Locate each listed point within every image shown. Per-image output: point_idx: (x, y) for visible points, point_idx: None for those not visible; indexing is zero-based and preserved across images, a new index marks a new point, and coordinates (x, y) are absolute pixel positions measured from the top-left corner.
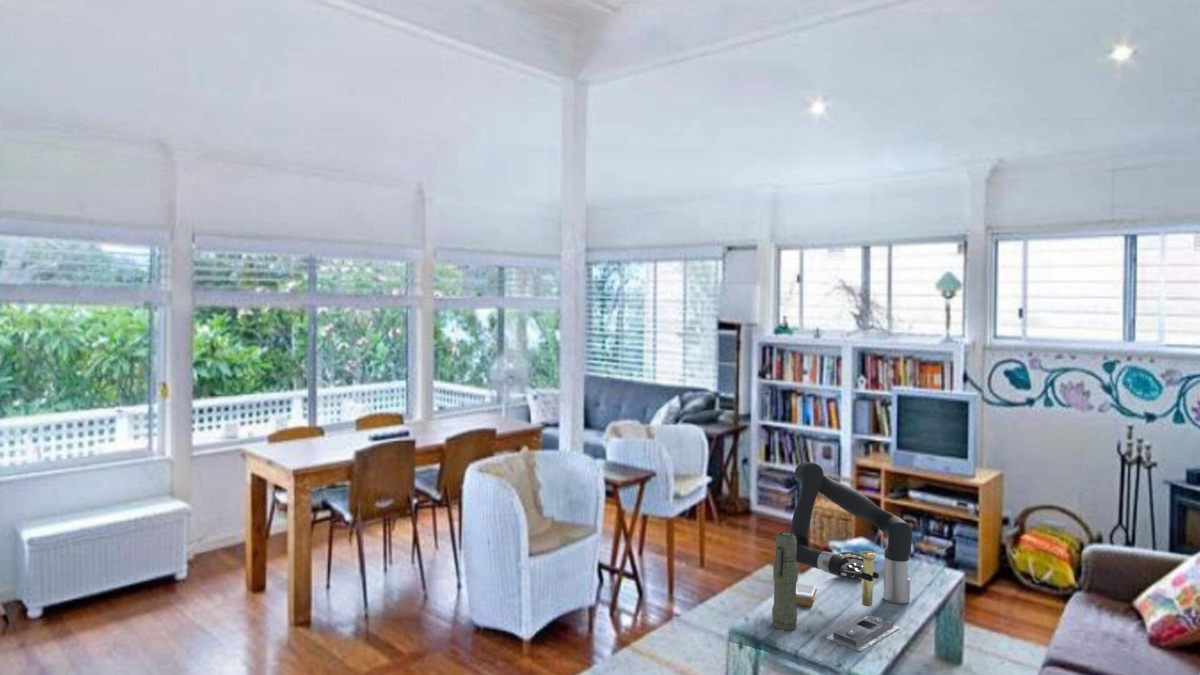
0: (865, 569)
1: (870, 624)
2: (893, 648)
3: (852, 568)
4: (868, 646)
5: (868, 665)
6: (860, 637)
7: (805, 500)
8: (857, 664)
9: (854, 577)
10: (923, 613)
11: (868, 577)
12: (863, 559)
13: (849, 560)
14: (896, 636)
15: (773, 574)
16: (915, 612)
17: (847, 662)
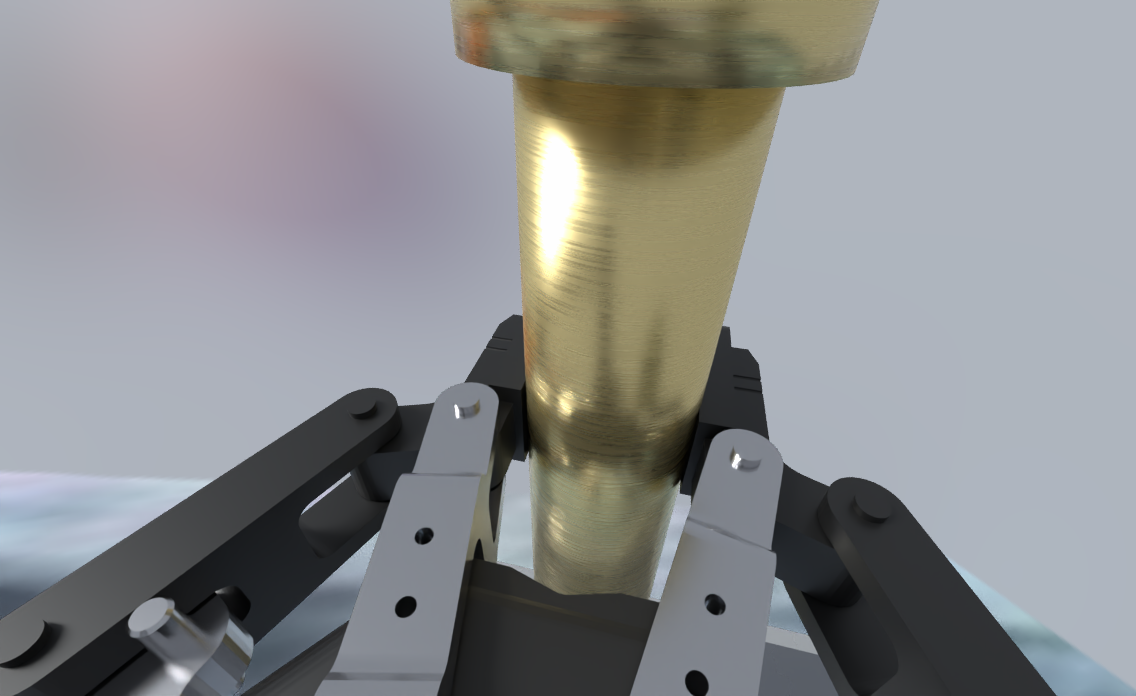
0: (717, 340)
1: None
2: (677, 516)
3: (760, 656)
4: (780, 629)
5: (964, 569)
6: (820, 669)
7: None
8: (1026, 622)
9: (859, 598)
10: (144, 487)
11: (753, 370)
12: (738, 175)
13: None
14: (525, 535)
15: None
16: (130, 523)
17: (1082, 685)
